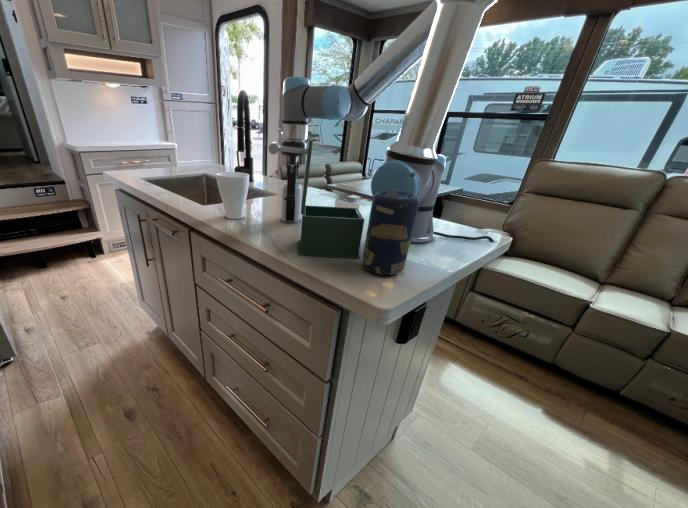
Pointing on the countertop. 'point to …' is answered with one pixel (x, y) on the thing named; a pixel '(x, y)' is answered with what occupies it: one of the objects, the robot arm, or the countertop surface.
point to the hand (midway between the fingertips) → (290, 217)
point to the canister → (389, 231)
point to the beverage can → (297, 202)
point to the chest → (331, 231)
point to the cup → (233, 192)
